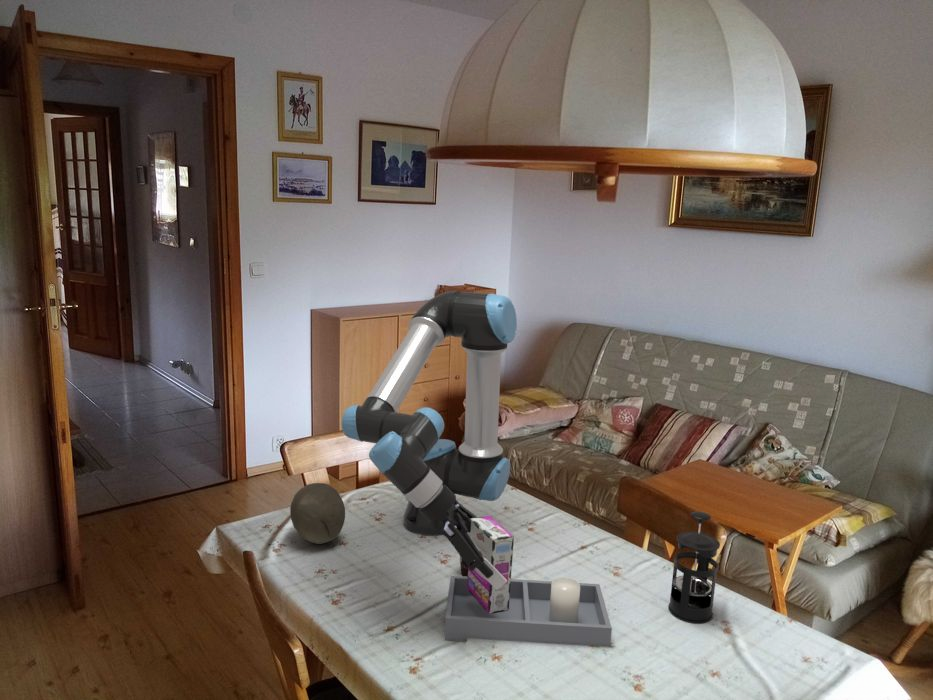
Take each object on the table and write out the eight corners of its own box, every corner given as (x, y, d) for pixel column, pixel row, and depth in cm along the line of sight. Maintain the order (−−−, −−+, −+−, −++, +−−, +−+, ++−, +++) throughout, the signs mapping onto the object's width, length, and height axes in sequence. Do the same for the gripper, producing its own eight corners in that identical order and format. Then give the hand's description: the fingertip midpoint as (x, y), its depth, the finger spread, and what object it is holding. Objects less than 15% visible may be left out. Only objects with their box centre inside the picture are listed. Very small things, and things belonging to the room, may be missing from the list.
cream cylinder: (548, 611, 153) (550, 577, 151) (575, 612, 152) (578, 578, 151) (550, 627, 147) (552, 591, 145) (579, 628, 147) (581, 593, 145)
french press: (702, 630, 149) (714, 528, 145) (660, 613, 155) (670, 515, 151) (721, 607, 158) (733, 511, 154) (680, 592, 164) (691, 499, 160)
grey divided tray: (449, 595, 159) (450, 575, 158) (597, 603, 158) (599, 584, 157) (444, 639, 142) (445, 618, 141) (609, 650, 141) (611, 628, 140)
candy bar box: (510, 611, 145) (515, 536, 142) (488, 615, 143) (493, 540, 140) (486, 584, 155) (490, 514, 152) (465, 588, 153) (469, 517, 150)
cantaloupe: (352, 532, 188) (353, 478, 185) (333, 556, 174) (334, 499, 171) (302, 526, 190) (302, 473, 187) (279, 550, 176) (279, 493, 174)
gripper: (423, 485, 158) (488, 554, 160) (410, 533, 134) (487, 612, 136) (448, 464, 157) (513, 533, 159) (439, 508, 133) (516, 588, 135)
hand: (501, 570), depth 148 cm, fingers closed on candy bar box, 12 cm apart
